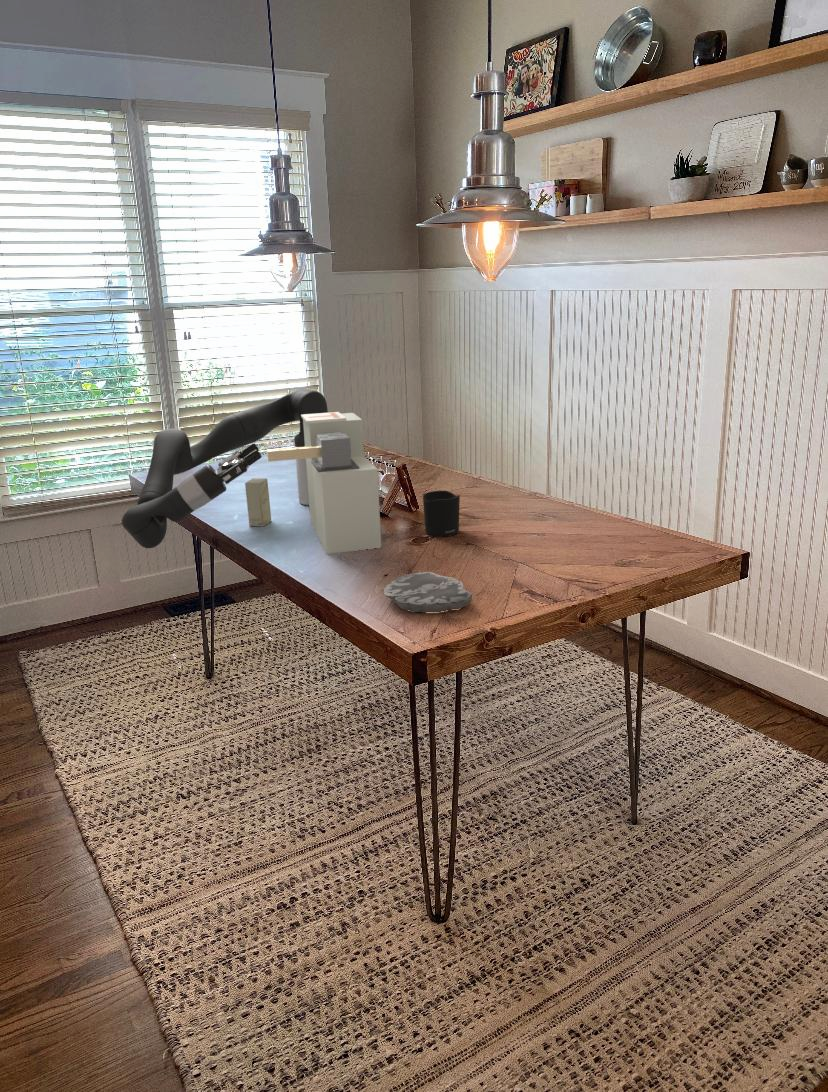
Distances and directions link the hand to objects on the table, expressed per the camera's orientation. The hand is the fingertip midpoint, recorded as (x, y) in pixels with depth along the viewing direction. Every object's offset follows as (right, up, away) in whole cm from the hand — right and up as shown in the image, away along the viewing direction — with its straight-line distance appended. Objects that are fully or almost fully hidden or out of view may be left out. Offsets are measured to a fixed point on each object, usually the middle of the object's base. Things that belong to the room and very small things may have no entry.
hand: (258, 449), depth 204 cm
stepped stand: (+19, -20, +18) cm, 33 cm away
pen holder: (+45, -20, +18) cm, 52 cm away
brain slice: (+40, -35, -28) cm, 60 cm away
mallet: (+12, -4, +4) cm, 13 cm away
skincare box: (-5, -17, +32) cm, 36 cm away
